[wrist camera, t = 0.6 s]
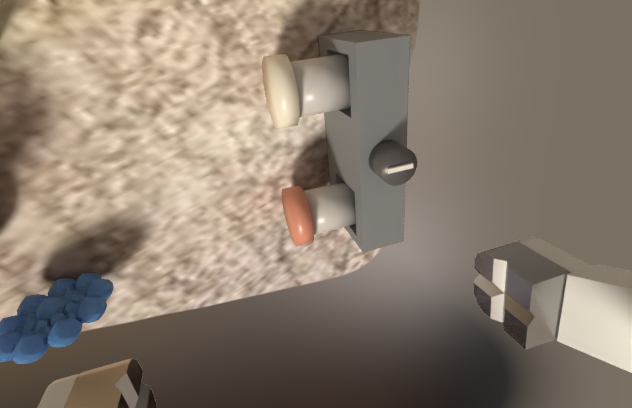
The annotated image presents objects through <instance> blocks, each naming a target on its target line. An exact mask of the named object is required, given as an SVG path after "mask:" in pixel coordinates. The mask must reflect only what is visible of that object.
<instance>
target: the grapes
mask: <svg viewBox="0 0 632 408" xmlns="http://www.w3.org/2000/svg"><path fill="white" fill-rule="evenodd" d="M112 291H113V283H112V282H111V281H109V280H106V279H101V276H100V275H99V274H97V273H83V274H81V275H80V276H79V277H78V279H77V280H76V281H75V280H73V279H69V278H64V279H57V280H56V281H55V282H54V283H53V284H52V286H51V287H50V289H49V292H48V296H47V297H46V296H45V295H39V294H37V295H30V296H26V297H25V298H24V300H23V301H22V302H21V304H20V305H19V307H18V310H17V315H18V316H11V317H7V318H3V319H2V320H1V322H0V362H5V361H9V360H13V361H14V362H16V363H17V364H27V363H31V362H34V361H36V360H38V359H40V358H41V357H42V356H43V355H44V353H45V352H46V351H47V348H48V346H49V345H51V346H52V347H64V346H68V345H70V344H72V343H73V342H74V341H75V340H76V339H77V337H78V336H79V335H80V332H81V329H82V324H83V323H90V322H95V321H97V320H99V319H100V318H101V316H102V315H103V314H104V312H105V310H106V307H107V304H106V300H107V299H108V298H109V297H110V295H111V294H112Z"/></svg>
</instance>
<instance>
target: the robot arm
mask: <svg viewBox="0 0 632 408" xmlns="http://www.w3.org/2000/svg"><path fill="white" fill-rule="evenodd" d="M474 268H475V269H476V270H477V271H478V273H479V275H478V277H477V279H476V280H475V282H474V295H475V298H476V300H477V303H478V305H479V306H480V308H481V309H482V311H483V312H484V313H485V314H486V315H488V316H489V317H490V318H491V319H494V320H497V321H500V322H502V323H503V328H504V331H505V332H506V333H508V335H510V336H511V337H512V338H513V339H514V340H515V341H516V342H517V343H519V345H521V346H522V347H523V348H524V349H529V348H532V347H535V346H537V345H541V344H543V343H546V342H549V341H552V340H555V339H557V341H559V342H561V343H563V344H565V345H568V346H570V347H572V348H575V349H577V350H579V351H582V352H584V353H587V354H589V355H591V356H593V357H596V358H598V359H601V360H603V361H605V362H607V363H610V364H612V365H614V366H617V367H619V368H622V369H624V370H626V371H629V372H631V373H632V271H629V270H624V269H618V268H613V267H608V266H603V265H597V264H596V265H593V266H590V265H588V264H586V263H584V262H583V261H581V260H579V259H577V258H575V257H573V256H571V255H569V254H567V253H565V252H564V251H561V250H560V249H558V248H556V247H554V246H552V245H550V244H548V243H547V242H545V241H543V240H541V239H539V238H537V237H526V238H523V239H520V240H517V241H514V242H512V243H510V244H506V245H504V246H500V247H497V248H494V249H491V250H487V251H484V252H481V253H478V254H477V256H476V258H475V266H474ZM142 375H143V370H142V368H141V366H140V364H139V362H138V361H137V360H136V359H133V358H132V359H129V360H125V361H122V362H118V363H114V364H111V365H107V366H103V367H100V368H96V369H93V370H90V371H86V372H82V373H81V374H76V375H73V376H69V377H66V378H62V379H59V380H56V381H54V382H53V383H51V384H50V385H49V386H48V387H47V389H46V391H45V394H44V396H43V398H42V400H41V402H40V404H39V406H38V408H157V405H156V401H155V398H154V394H153V392H152V390H151V387H149V386H147V385H145V384H143V383H141V381H142Z"/></svg>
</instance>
